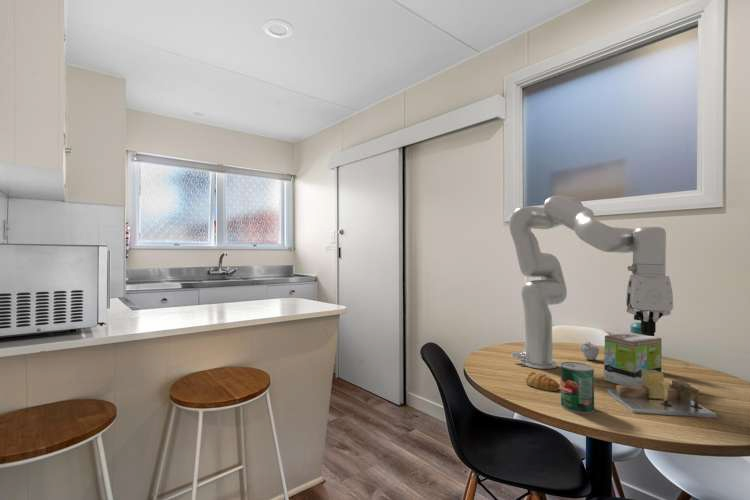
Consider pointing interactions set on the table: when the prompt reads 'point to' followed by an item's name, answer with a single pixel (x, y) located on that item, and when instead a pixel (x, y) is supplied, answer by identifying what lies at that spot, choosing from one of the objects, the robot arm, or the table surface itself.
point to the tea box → (630, 357)
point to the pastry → (541, 382)
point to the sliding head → (655, 384)
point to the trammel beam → (677, 391)
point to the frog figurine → (589, 350)
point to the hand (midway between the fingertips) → (648, 334)
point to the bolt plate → (662, 406)
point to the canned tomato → (577, 387)
